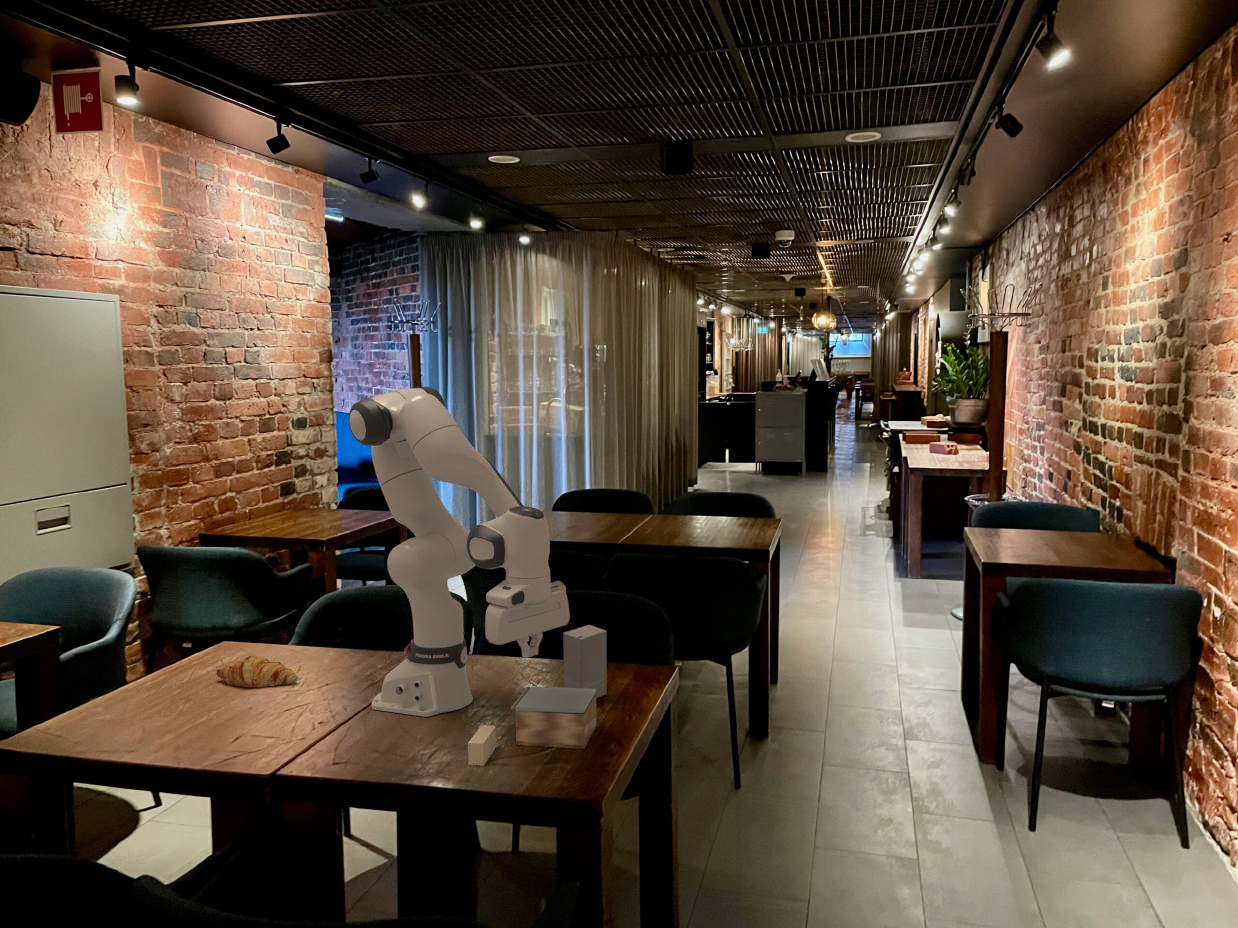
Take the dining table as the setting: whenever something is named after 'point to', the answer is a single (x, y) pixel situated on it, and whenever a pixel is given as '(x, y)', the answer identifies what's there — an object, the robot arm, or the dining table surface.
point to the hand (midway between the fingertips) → (530, 655)
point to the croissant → (257, 673)
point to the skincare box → (585, 659)
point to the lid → (554, 699)
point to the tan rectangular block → (482, 745)
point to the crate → (556, 728)
